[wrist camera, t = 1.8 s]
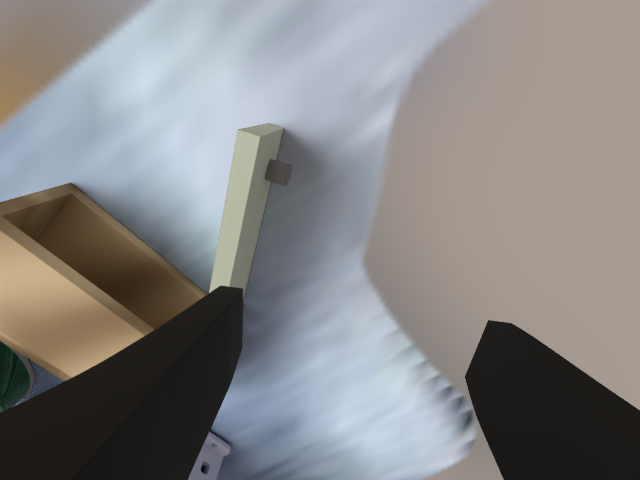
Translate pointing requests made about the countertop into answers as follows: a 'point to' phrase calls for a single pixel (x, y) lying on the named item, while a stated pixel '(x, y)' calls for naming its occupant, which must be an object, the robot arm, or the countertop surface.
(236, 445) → the countertop surface
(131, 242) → the cabinet
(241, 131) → the door
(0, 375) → the canned tomato
